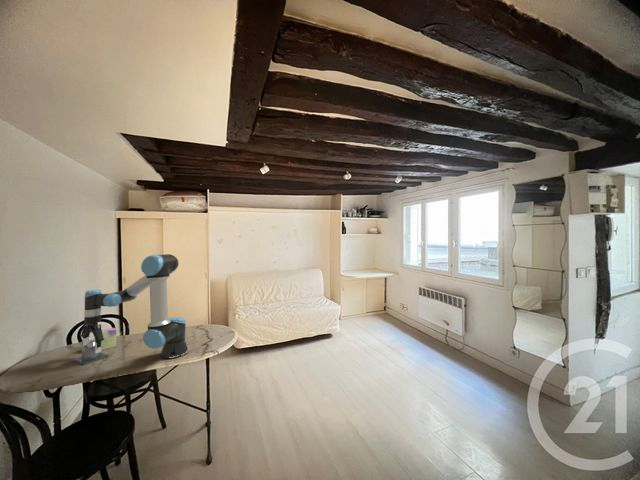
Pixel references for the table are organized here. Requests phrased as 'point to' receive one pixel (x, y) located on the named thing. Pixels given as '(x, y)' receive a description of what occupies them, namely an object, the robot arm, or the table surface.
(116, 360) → the table surface
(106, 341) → the box
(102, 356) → the shaft stand
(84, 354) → the hub
